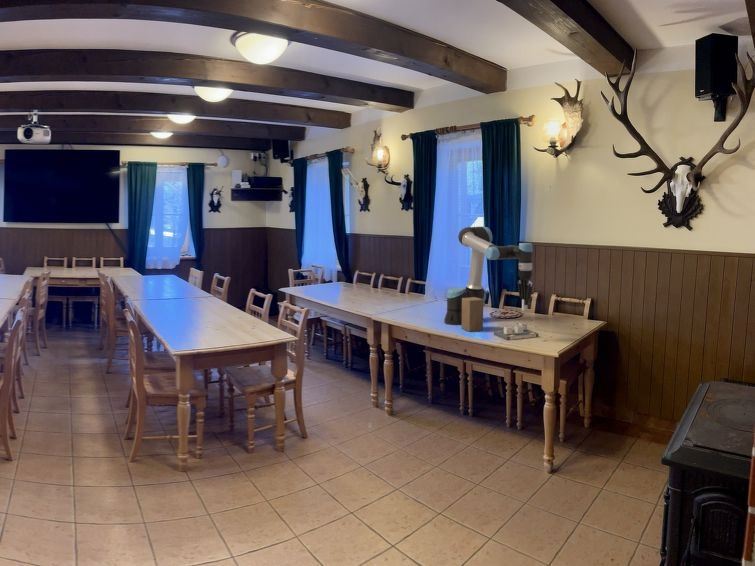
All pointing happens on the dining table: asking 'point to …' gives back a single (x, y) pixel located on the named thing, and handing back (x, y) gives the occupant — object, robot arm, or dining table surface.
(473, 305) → the wooden block
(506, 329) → the slider
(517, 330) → the slider
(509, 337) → the console
